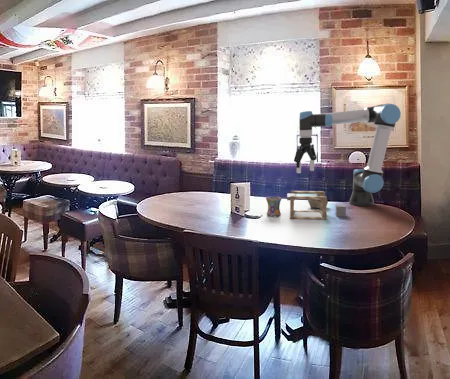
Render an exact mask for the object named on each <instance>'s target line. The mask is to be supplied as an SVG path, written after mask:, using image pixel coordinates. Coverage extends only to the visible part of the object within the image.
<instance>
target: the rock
mask: <svg viewBox="0 0 450 379" xmlns="http://www.w3.org/2000/svg"><path fill="white" fill-rule="evenodd" d="M317 196H321V194H317ZM307 202H308V204H309V207H310V208H315V209H321V200H313V199H307ZM328 203H329V202H328V200H327V205H329V204H328Z"/></svg>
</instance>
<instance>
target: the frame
mask: <svg viewBox="0 0 450 379" xmlns="http://www.w3.org/2000/svg"><path fill="white" fill-rule="evenodd" d="M290 193H296V194H321V196H290V200H289V201H290V202H289V203H290V204H289V207H290V208H289V209H290V211H289V213H290V214H289V219H291V220H319V221H320V220H323V221H324V220H325V221H326V220H327V208H328V207H327V206H328V204H327V201H328V199H327V198H328V197H327V196H326V195H325V194H326V192H325V191H324V190H323V191H321V190H317V191H316V190H290ZM294 199H295V200H308V199H313V200H321V208H320V210H310V209H309V210H303V209H302V210H296V209H295V200H294ZM295 212H320V214H321V217H296V216H295Z"/></svg>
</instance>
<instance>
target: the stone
mask: <svg viewBox="0 0 450 379" xmlns="http://www.w3.org/2000/svg"><path fill="white" fill-rule="evenodd" d="M335 216H336V217H338V218H340V217H342V218H343V217H344V218H346V217H347V205H346V204H335Z"/></svg>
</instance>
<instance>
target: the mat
mask: <svg viewBox="0 0 450 379" xmlns="http://www.w3.org/2000/svg"><path fill="white" fill-rule="evenodd" d="M294 216H296V217H322V216H321V213H320V212H295V213H294Z"/></svg>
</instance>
